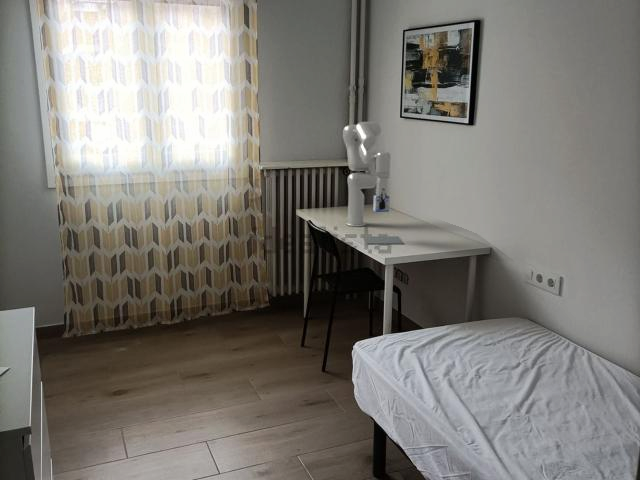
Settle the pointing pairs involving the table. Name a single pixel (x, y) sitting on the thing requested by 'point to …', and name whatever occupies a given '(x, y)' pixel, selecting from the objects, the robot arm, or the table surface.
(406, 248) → the table surface
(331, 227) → the table surface
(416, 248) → the table surface
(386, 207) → the medicine box
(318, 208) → the table surface
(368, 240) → the rubber mat
